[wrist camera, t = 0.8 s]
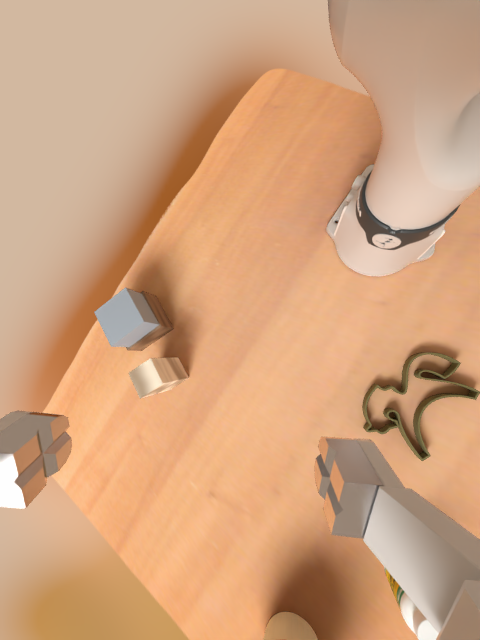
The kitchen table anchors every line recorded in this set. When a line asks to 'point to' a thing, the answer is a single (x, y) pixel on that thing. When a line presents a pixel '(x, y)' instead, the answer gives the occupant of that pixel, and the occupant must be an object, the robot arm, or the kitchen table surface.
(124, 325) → the slate-blue top block
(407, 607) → the supplement bottle
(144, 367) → the cream pillar block
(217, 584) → the kitchen table surface
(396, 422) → the cookie cutter
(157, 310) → the walnut base block
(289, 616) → the reusable coffee cup
